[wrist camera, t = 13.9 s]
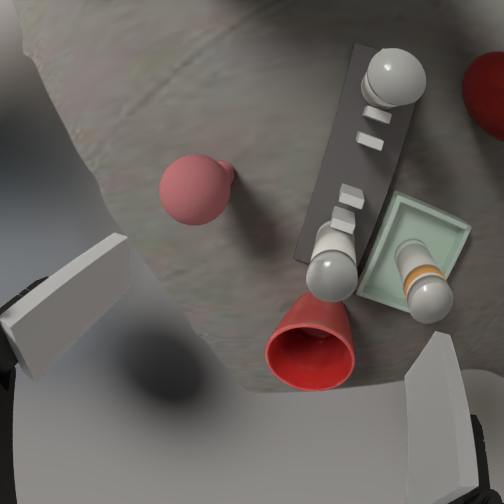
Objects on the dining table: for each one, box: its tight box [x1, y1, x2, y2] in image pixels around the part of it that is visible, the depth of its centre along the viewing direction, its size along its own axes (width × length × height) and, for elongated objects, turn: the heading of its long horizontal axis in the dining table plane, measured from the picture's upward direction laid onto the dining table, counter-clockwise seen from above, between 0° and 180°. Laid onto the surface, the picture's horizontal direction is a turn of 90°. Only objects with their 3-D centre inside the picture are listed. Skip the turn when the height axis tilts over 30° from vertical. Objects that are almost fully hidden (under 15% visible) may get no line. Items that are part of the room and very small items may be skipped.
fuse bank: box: [293, 42, 424, 268], centre depth 30 cm, size 27×8×6 cm, turn 167°
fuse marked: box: [394, 238, 453, 324], centre depth 29 cm, size 5×5×11 cm
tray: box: [356, 190, 472, 313], centre depth 34 cm, size 13×10×2 cm
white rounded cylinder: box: [361, 48, 426, 109], centre depth 23 cm, size 4×4×11 cm
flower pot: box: [265, 293, 355, 391], centre depth 38 cm, size 11×11×10 cm
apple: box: [462, 52, 504, 142], centre depth 20 cm, size 10×10×10 cm
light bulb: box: [159, 155, 234, 225], centre depth 32 cm, size 7×7×12 cm
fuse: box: [306, 219, 358, 302], centre depth 31 cm, size 4×4×11 cm
